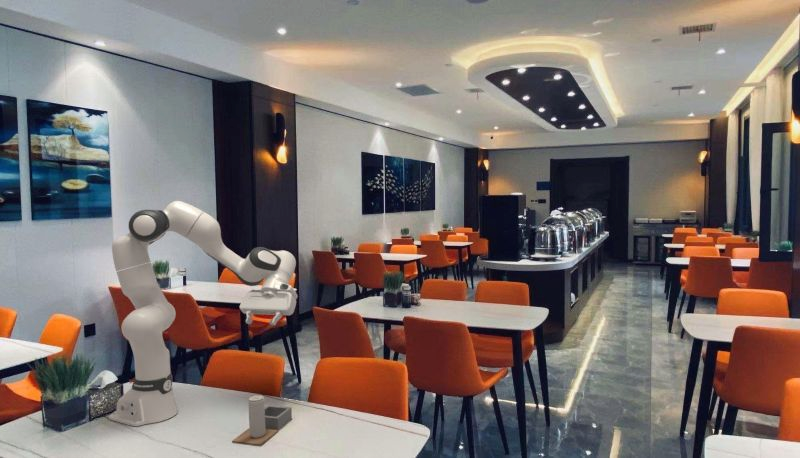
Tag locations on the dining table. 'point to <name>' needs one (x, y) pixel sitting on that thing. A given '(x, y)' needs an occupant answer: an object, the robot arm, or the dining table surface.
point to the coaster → (249, 440)
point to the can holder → (277, 417)
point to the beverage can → (256, 416)
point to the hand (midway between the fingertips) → (260, 323)
